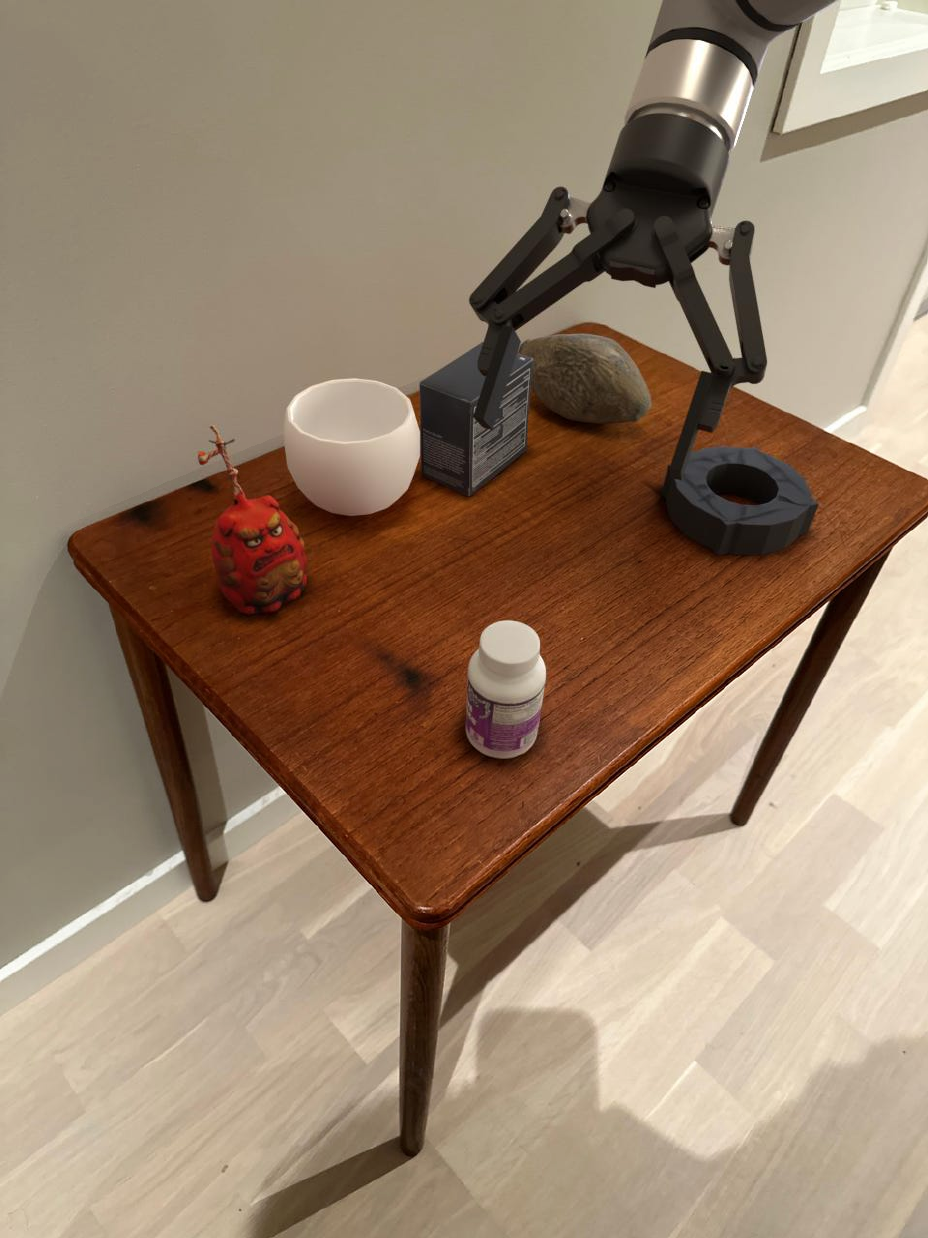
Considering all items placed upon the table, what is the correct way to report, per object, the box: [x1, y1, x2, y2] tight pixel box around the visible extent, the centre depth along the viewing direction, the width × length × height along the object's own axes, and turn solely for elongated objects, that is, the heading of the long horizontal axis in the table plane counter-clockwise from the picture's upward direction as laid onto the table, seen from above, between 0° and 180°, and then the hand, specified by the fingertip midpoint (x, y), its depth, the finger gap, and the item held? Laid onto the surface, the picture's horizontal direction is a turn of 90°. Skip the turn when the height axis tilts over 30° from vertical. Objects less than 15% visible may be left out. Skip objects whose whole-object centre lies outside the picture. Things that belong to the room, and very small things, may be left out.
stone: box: [518, 333, 652, 425], centre depth 94 cm, size 17×9×8 cm, turn 52°
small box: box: [418, 341, 533, 497], centre depth 85 cm, size 11×6×10 cm, turn 144°
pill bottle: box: [465, 619, 547, 759], centre depth 60 cm, size 5×5×10 cm
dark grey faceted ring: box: [661, 445, 820, 556], centre depth 82 cm, size 12×12×4 cm
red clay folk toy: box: [197, 425, 308, 616], centre depth 68 cm, size 8×7×15 cm
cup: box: [282, 377, 421, 517], centre depth 80 cm, size 12×12×10 cm
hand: (576, 449), depth 58 cm, fingers open, 13 cm apart
